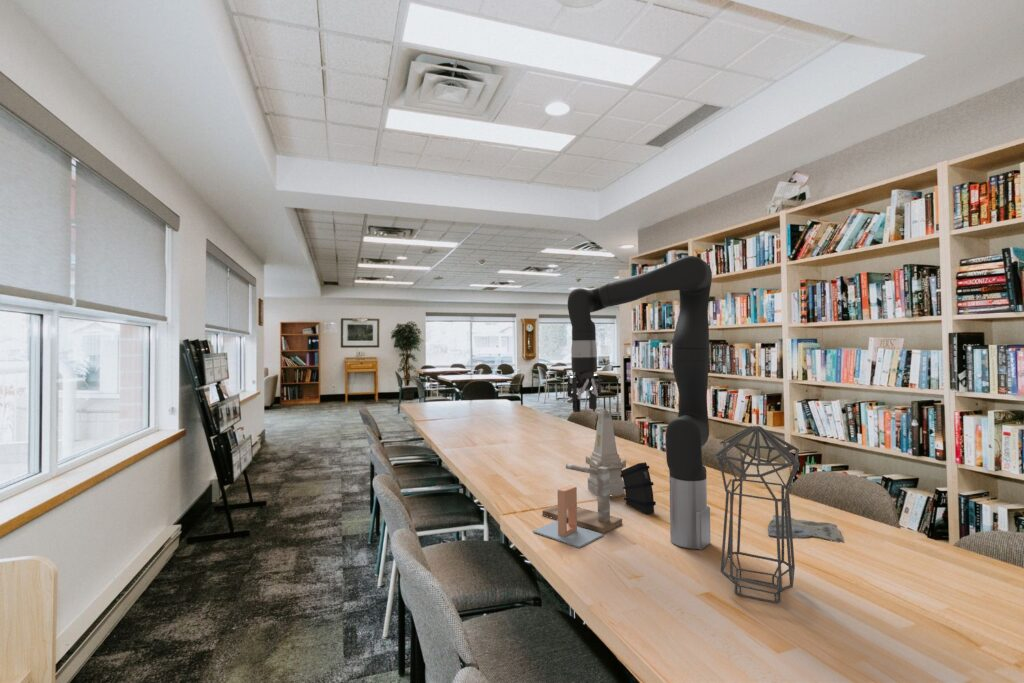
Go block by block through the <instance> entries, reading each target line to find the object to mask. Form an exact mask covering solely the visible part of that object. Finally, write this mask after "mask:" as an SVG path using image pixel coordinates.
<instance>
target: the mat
mask: <svg viewBox="0 0 1024 683" xmlns="http://www.w3.org/2000/svg"><path fill="white" fill-rule="evenodd" d="M567 525H568V523H567ZM533 532H534V534H536V533H537V535H539V534H540V535H539V536H542V535H543V536H542V537H545V536H546V537H545V538H548V537H549V538H548V539H551V538H552V540H554V539H555V540H554V541H557V540H558V541H557V542H560V541H561V542H560V543H563V542H564V543H563V544H566V543H567V544H566V545H569V544H570V545H569V546H572V545H573V546H572V547H575V546H576V547H575V548H577V547H579V548H578V549H581V548H583V547H584V545H585V546H586V544H587V545H589V544H591V543H593V542H595V541H596V539H597V540H598V538H599V539H601V538H602V537H604V533H600V532H596V531H593V530H590V529H586V528H583V527H580V526H577V531H575V532H573V533H571V534H569V535H567V536H562V535H559V534H558V520H556V521H555V520H554V521H553V522H550V523H548V524H545V525H543V526H540V527H539V528H536V529H534V530H532V533H533ZM600 537H601V538H600ZM594 540H595V541H594ZM592 541H593V542H592ZM590 542H591V543H590ZM588 543H589V544H588ZM582 546H583V547H582ZM580 547H581V548H580Z"/></svg>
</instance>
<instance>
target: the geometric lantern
mask: <svg viewBox="0 0 1024 683" xmlns="http://www.w3.org/2000/svg"><path fill="white" fill-rule="evenodd" d="M750 434H751V437H750V439H749V442H748V443H747V444H743V443H740V442H741V441H742V440H744V438H746V437H747V436H749V435H750ZM760 435H761V437H762V439H763V442H764V443H765V445H760V444H761V441H760ZM754 440H755V441H754ZM753 442H754V446H753V445H752V444H753ZM719 443H720V444H721V445H722V448H721V449H720V450H718V451H717V452H716V453H715V454H712V455H713V457H715V458H716V459H717V460H718V465H719V466H720V471H721V477H722V480H723V485H724V492H725V502H724V504H725V505H724V516H723V517H724V520H723V532H722V544H721V558H720V559H721V562H720V572H721V574H722V575H723V576H724V577H725V578H727V579H728V580H729V581H730V582H732V584H733V585H734V591H733V592H734V594H735V595H737V596H740V597H745V598H749V599H755V600H759V601H763V602H769V603H775V604H777V603H779V602H781V599H782V598H781V596H782V595H781V594H782V593H783V592H784V591H786V590H790V589H793V587H794V579H795V569H796V566H795V565H796V564H795V552H794V538H793V537H792V524H791V518H792V514H791V501H790V489H791V486H792V483H793V480H794V477H795V476H796V475H797V472H798V470H799V468H800V464H801V463H800V462H799V461H798V459H799V453H800V449H799V447H796V446H794V445H792V444H791V443H789V442H787V441H785V440H783V439H782V438H780V437H778V436H777V435H775V434H773V433H772V432H769V431H768V430H766V429H764V428H763V427H762V426H760V425H757V426H756V425H750V426H748V427H747V428H744V429H743V430H741V431H738V433H735V434H733V435H731V436H729V437H727V438H726V439H724V440H722V441H720V442H719ZM727 443H728V444H727ZM769 443H770V444H769ZM770 445H771V446H770ZM783 445H784V446H783ZM741 447H744V448H745V450H744V449H743V448H741ZM733 448H736V449H737V450H739V451H740V452H741V453H743V456H742V458H739V457H734V456H733V457H732V456H728V455H727V453H728V452H729V451H731V449H733ZM750 449H751V450H752V449H753V450H754V451H753V455H752V454H750V453H749V451H750ZM761 449H765V450H766V449H767V450H768V453H767V458H766V459H762V458H761ZM775 450H776V451H777V452H778V454H777V455H775V456H773V457H772V458H770V457H771V456H770V455H771V453H773V451H775ZM792 450H794V451H795V455H794V454H792V452H791V451H792ZM756 455H757V457H756ZM747 457H749V458H750V460H749V461H746V459H747ZM780 457H782V458H783V460H784V461H786V462H774V461H776V460H777V459H779V458H780ZM732 461H737V462H740V467H741V468H740V467H739V466H737V465H735V463H733V462H732ZM753 461H757V462H753ZM726 464H727V465H728V467H729V469H730V471H731V473H732V475H733V477H734V478H733V479H732V478H730V479H729V480H728V482H727V480H726V477H725V476H726V475H725V471H724V465H726ZM744 465H746V467H745V468H744ZM750 466H753V467H756V473H757V474H756V473H755V474H754V473H746V472H747V471H748V470H749V467H750ZM761 466H762V467H763V466H767V467H772V468H773V469H772V470H769V471H766V472H763V473H760V468H759V467H761ZM732 467H733V468H734V469H735V470H736V471H738V472H739V473H740V476H739V478H737V476H736V475H735V472H734V471H733V468H732ZM775 467H776V468H775ZM790 467H792V469H791V471H790V475H789V476H788V479H787V482H786V483H785V482H784V480H783V479H782V477H781V475H780V474H779V472H778V471H781V470H784V469H788V468H790ZM773 473H776V475H777V476H778V478H779V479H780V481H781V483H778V482H777V483H776V482H769V481H766V480H765V478H764V477H765V476H769V475H772V474H773ZM747 478H759V479H760V480H753V479H747ZM735 482H739V483H738V484H737V486H736V487H735V484H736V483H735ZM744 482H748V483H749V482H750V483H758V484H764V485H763V486H765V488H766V489H767V491H768V492H769V495H771V497H772V498H771V497H763V496H758V495H757V496H756V495H750V494H744V493H743V483H744ZM730 485H731V490H730V489H729V487H730ZM769 485H773V486H781V489H780V490H781V492H780V493H781V498H777V497H776V495H775V494H774V493H773V491H772V489H771V488H770V486H769ZM738 488H739V493H738V492H736V490H737V489H738ZM734 496H738V499H739V500H738V516H737V517H738V520H737V540H736V541H737V542H736V544H737V546H736V551H733V549H734V548H733V547H734V546H733V542H734V535H733V534H734V533H733V532H734V526H733V524H734V514H733V513H734V498H735V497H734ZM743 497H747V498H754V499H758V500H759V499H761V500H766V501H767V500H768V501H773V502H774V508H775V509H774V510H775V513H774V515H776V535H777V537H776V554H777V558H772V557H768V556H767V557H766V556H763V555H762V556H761V555H758V554H757V555H756V554H751V553H747V552H741V527H742V524H741V523H742V502H743ZM779 502H780V503H781V504H780V505H781V515H779ZM728 510H729V513H728ZM728 514H729V522H728ZM779 516H781V538H780V534H779ZM784 517H785V526H786V538H784ZM788 522H789V526H788ZM728 523H729V524H728ZM727 526H728V539H726V538H727V537H726V536H727ZM789 535H790V538H789ZM785 539H786V551H787V561H785ZM726 540H727V549H726ZM726 550H727V553H726V556H725V552H726ZM733 555H734V556H736V559H737V560H736V561H737V565H738V567H737V565H736V564H735V562H734V559H733ZM740 555H741V556H745V557H749V558H751V557H752V558H756V559H761V560H766V561H770V562H776V563H777V566H776V569H775V572H774V573H769V572H763V571H757V570H750V569H746V568H745V569H744V568H742V567H741V563H740V558H739V556H740ZM728 560H729V573H728V572H726V571H725V569H726V566H727V564H728ZM782 564H784V565H786V566H787V567H788V569H786V570H785V571H784V572H782ZM734 569H735V575H733V574H734V572H733V571H734ZM742 572H747V573H754V574H760V575H765V576H772V577H771V582H768V581H763V580H759V579H752V578H747V577H742ZM738 573H739V574H738ZM786 574H788V576H789V577H788V578H789V585H786V586H783V576H784V575H786ZM777 575H778V576H777ZM775 578H776V583H775ZM738 581H740V582H745V583H748V584H753V585H757V586H760V587H764V588H768V589H771V590H776V591H770V590H765V589H760V588H756V587H752V586H746V585H741V584H739V583H738ZM738 588H739V589H738ZM742 588H743V589H748V590H753V591H758V592H762V593H763V592H764V593H767V594H772V595H773V596H774V600H773V599H767V598H763V597H758V596H753V595H747V594H743V593H742ZM738 590H739V592H738Z"/></svg>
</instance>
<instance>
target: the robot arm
mask: <svg viewBox="0 0 1024 683" xmlns="http://www.w3.org/2000/svg"><path fill="white" fill-rule="evenodd" d="M712 281H713V272H712V268H711V266H710V265H709V263H707V262H706V261H705V260H704V259H702V258H700V257H698V256H695V255H686V256H683V257H681V258H679V259H676V260H675V261H672V262H670V263H667V264H665V265H663V266H661V267H658V268H656V269H652V270H649V271H647V272H646V271H645V272H644V273H640V274H636V275H632V276H631V275H630V276H628V277H623V278H619V279H615V280H612V281H608V282H605V283H603V284H601V285H600V286H599V287H596V288H590V289H586V288H582V287H576V288H574V289H572V291H571V292H570V293H569V295H568V299H567V311H568V315H569V320H570V324H571V340H572V341H571V349H570V350H571V351H570V353H571V355H570V356H571V357H570V358H571V359H570V360H571V372H572V373H574V375H572V376H567V387H566V388H567V395H566V396H567V398H571V400H572V402H571V403H572V411H573V413H580V412H581V397H582V395H583V393H584V392H585V391H586V392H587V394H588V396H589V397H588V408H589V409H590V410H597V406H598V403H597V400H598V399H597V398H598V396H599V395H601V394H602V386H601V385H602V383H601V375H600V374H597V373H596V372H597V371H598V347H597V339H596V336H597V335H596V334H597V333H596V329H597V328H596V324H595V322H593V320H592V317H591V313H595V312H598V311H601V310H604V309H606V308H609V307H615V306H620V305H623V304H627V303H631V302H634V301H638V300H640V299H642V298H644V297H648V296H650V295H653V294H657V293H662V292H670V291H672V292H673V291H678V293H679V314H678V318H677V322H676V326H675V328H674V333H673V338H672V351H671V352H672V353H671V354H672V355H671V357H672V358H671V363H672V371H673V375H674V379H675V384H676V386H677V391H678V401H679V402H678V413H677V417H675V418H673V419H672V420H671V421H670V422H669V423H668V425H667V427H666V430H665V453H666V454H665V455H666V456H665V457H666V465H667V467H668V470H669V517H670V518H669V521H670V522H669V527H670V528H669V530H670V531H669V532H670V533H669V534H670V535H669V536H670V542H671V543H673V544H674V545H676V546H678V547H681V548H685V549H690V550H691V549H695V550H701V551H702V550H703V549H705V548H706V547H707V546H709V545H710V544H711V543H712V542H711V508H710V506H709V505H708V501H707V500H708V494H707V492H708V491H707V490H708V489H707V488H708V487H707V484H708V483H707V467H705V465H704V463H703V454H702V449H703V448H702V447H703V446H705V445H706V444H707V442H708V440H709V436H710V426H709V425H710V422H709V414H708V413H709V411H708V397H707V396H708V385H709V384H708V383H709V366H710V365H709V364H710V330H709V329H710V326H709V303H710V294H711V287H712ZM595 373H596V374H595Z"/></svg>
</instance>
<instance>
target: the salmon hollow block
mask: <svg viewBox="0 0 1024 683" xmlns="http://www.w3.org/2000/svg"><path fill="white" fill-rule="evenodd" d="M577 495H578V492H577V486H574V485H570V484H569V485H567V486H564V487H561V488H559V489H557V505H558V534H559V535H562V536H567V535H569V534H571V533H573V532H575V531H577V507H578V502H577V501H578V496H577ZM566 509H568V525H567V510H566Z"/></svg>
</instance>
